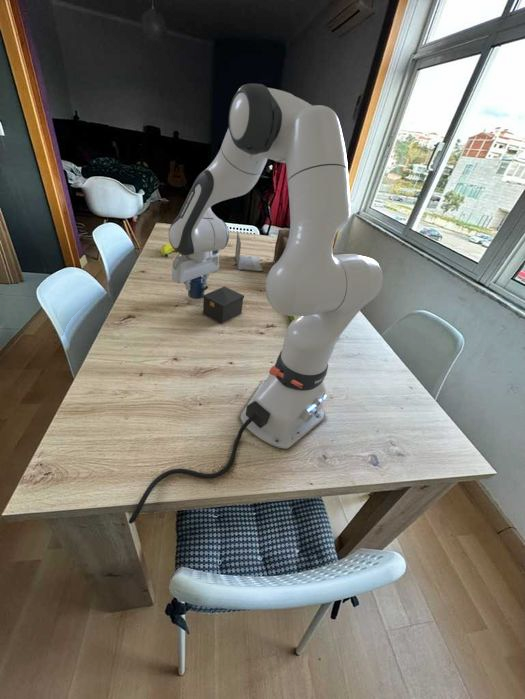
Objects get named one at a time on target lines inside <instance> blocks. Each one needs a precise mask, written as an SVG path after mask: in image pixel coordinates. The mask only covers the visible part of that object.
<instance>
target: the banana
mask: <svg viewBox="0 0 525 699" xmlns="http://www.w3.org/2000/svg"><path fill="white" fill-rule="evenodd" d="M175 251H176V250H175V249H174V248H173V247H172V246H171V244H170V242H168V243H166V244H164V245H163V246H161V247H160V253H161V254H162V255H163V257H164V258H165V257H166V258H167V257H168V255H169V254H170V253H171V252H175Z"/></svg>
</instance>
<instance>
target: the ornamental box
mask: <svg viewBox="0 0 525 699" xmlns="http://www.w3.org/2000/svg"><path fill="white" fill-rule="evenodd" d="M289 233H290V229H289V230H288V229H278V233H277V238H276V241H275V245H274V253H273V260H272V262H274V264H276V262H277V261H278V260H279V259H280V257H281V256H282V254H283V252H284V250H285V248H286V245H287V242H288V238H289Z"/></svg>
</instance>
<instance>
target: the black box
mask: <svg viewBox="0 0 525 699" xmlns="http://www.w3.org/2000/svg"><path fill="white" fill-rule="evenodd" d="M202 299H203V306H202V314H203V315H205V316H207V317H208V318H210V319H212V320H214V321H216V322H218V323H219V324H225V323H226V322H228V321H229V320H232V319H233V318H235V317H237V316H239V315H240V314H242V311H243V304H244V299H245V295H244V294H242V293H240V292H238V291H235V290H233V289H231V288H229V287H227V286H222V287H220V288H216V289H215V290H213V291H210V292H208V293H204V295H203V298H202Z"/></svg>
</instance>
